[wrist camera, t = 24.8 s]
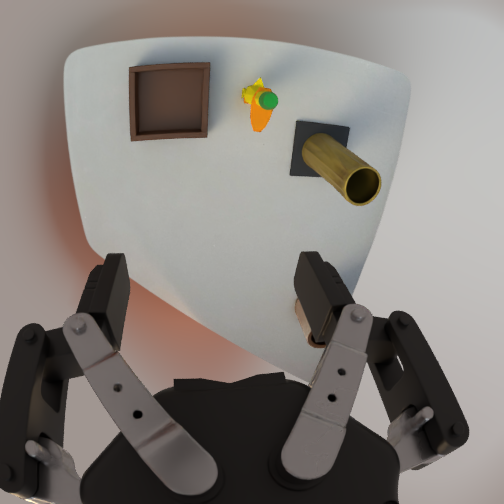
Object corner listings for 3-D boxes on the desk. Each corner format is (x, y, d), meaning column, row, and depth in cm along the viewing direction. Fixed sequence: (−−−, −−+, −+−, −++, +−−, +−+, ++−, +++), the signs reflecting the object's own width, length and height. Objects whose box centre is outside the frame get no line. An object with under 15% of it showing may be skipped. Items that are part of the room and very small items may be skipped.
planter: (298, 284, 60) (313, 318, 52) (344, 281, 62) (362, 312, 54) (290, 319, 66) (301, 352, 59) (332, 314, 68) (346, 344, 61)
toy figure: (257, 121, 39) (278, 140, 30) (233, 118, 39) (246, 136, 29) (266, 78, 36) (291, 82, 26) (241, 74, 35) (257, 75, 25)
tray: (133, 67, 31) (128, 67, 29) (209, 63, 33) (210, 62, 31) (135, 136, 37) (130, 141, 35) (206, 133, 39) (207, 137, 37)
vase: (305, 130, 41) (347, 159, 29) (340, 135, 42) (390, 166, 31) (298, 167, 44) (335, 208, 33) (333, 170, 45) (376, 210, 34)
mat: (296, 120, 40) (297, 121, 40) (348, 127, 42) (349, 127, 41) (289, 174, 45) (290, 175, 45) (339, 177, 47) (340, 178, 47)
